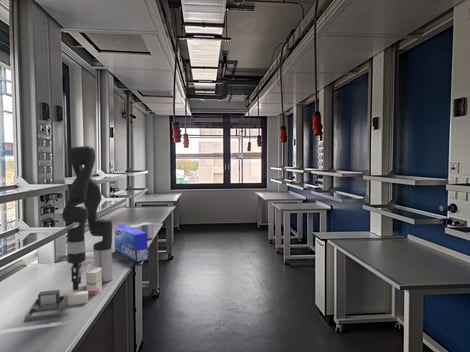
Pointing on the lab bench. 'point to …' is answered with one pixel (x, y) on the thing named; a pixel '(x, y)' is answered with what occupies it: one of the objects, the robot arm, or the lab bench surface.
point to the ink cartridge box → (93, 279)
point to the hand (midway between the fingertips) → (77, 286)
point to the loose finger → (78, 297)
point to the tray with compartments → (45, 310)
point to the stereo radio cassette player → (145, 228)
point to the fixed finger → (49, 297)
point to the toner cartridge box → (131, 243)
